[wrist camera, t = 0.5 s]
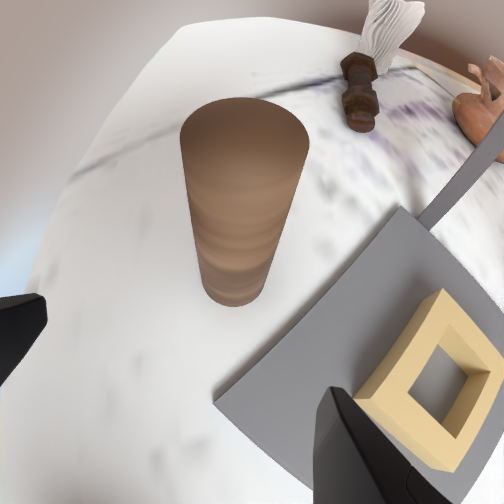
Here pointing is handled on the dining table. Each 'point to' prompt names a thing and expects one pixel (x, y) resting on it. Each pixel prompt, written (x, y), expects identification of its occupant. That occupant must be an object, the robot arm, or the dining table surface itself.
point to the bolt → (360, 91)
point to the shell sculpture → (388, 29)
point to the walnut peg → (240, 190)
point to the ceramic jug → (482, 103)
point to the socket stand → (392, 353)
